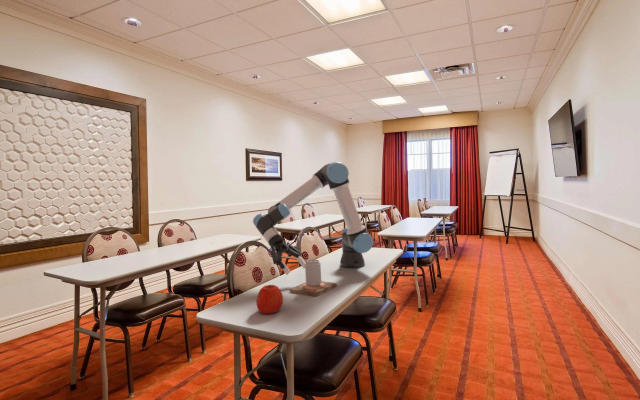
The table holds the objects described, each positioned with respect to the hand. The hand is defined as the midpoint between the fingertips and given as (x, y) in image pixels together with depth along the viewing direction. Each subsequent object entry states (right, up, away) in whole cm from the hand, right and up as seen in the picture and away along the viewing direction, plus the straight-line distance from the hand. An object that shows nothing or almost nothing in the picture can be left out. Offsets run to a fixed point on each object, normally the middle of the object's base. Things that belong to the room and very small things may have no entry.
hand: (297, 270), depth 171 cm
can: (+8, -6, -5) cm, 12 cm away
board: (+8, -8, -5) cm, 13 cm away
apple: (-9, -10, -32) cm, 35 cm away
